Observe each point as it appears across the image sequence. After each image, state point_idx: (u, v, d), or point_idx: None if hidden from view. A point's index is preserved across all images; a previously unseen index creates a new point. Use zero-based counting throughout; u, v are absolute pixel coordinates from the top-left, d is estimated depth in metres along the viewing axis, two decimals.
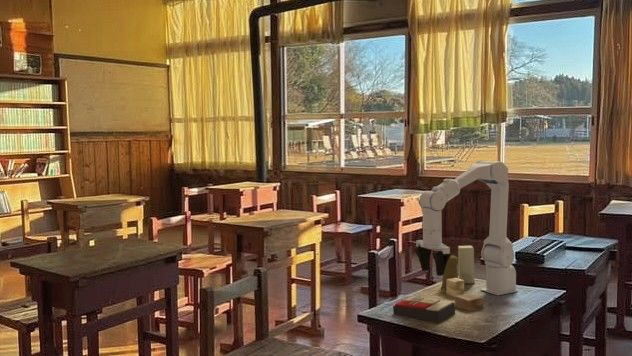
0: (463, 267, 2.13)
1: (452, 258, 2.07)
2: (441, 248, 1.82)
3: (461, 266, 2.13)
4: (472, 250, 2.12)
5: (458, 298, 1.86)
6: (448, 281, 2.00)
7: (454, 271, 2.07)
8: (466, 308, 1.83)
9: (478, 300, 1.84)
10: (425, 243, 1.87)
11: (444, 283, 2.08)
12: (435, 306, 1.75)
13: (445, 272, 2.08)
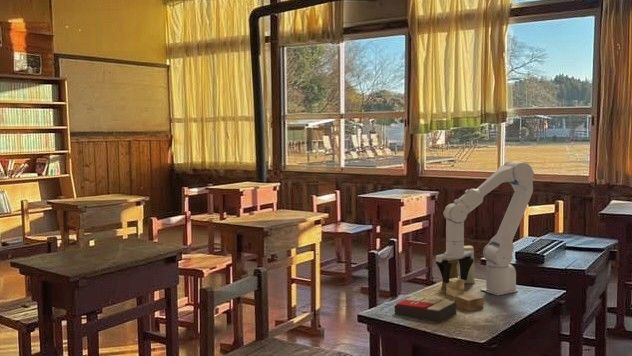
0: None
1: None
2: None
3: None
4: (472, 250, 2.12)
5: (458, 298, 1.86)
6: None
7: (454, 271, 2.07)
8: (466, 308, 1.83)
9: (478, 300, 1.84)
10: None
11: (444, 283, 2.08)
12: (436, 306, 1.76)
13: None
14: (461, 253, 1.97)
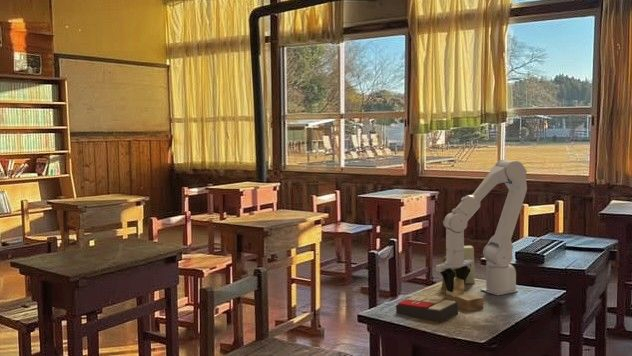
0: None
1: None
2: None
3: None
4: (472, 250, 2.12)
5: (458, 298, 1.86)
6: None
7: (454, 271, 2.07)
8: (465, 308, 1.83)
9: (478, 300, 1.83)
10: None
11: (444, 283, 2.08)
12: (437, 306, 1.76)
13: None
14: (461, 262, 1.97)
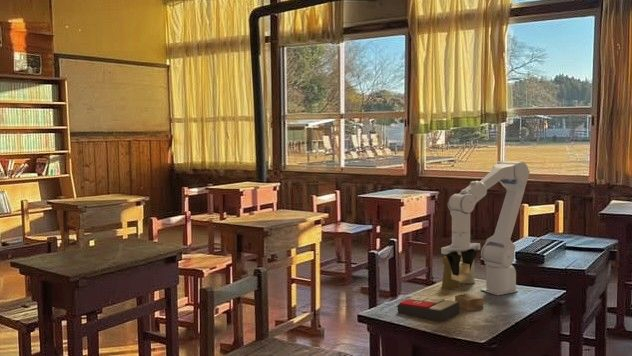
0: None
1: None
2: None
3: None
4: None
5: (458, 298, 1.86)
6: None
7: None
8: (465, 308, 1.83)
9: (478, 300, 1.83)
10: None
11: (444, 283, 2.08)
12: (439, 305, 1.76)
13: (445, 272, 2.08)
14: (467, 245, 1.90)
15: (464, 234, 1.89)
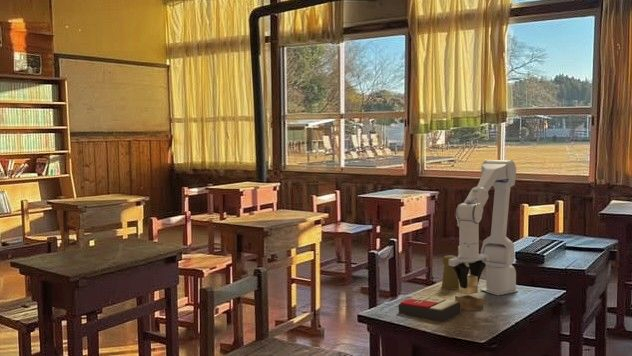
0: None
1: None
2: None
3: None
4: None
5: (458, 298, 1.86)
6: None
7: (454, 271, 2.07)
8: (465, 308, 1.83)
9: (477, 300, 1.83)
10: None
11: (444, 283, 2.08)
12: (439, 305, 1.76)
13: (445, 272, 2.08)
14: (476, 256, 1.82)
15: (472, 245, 1.82)
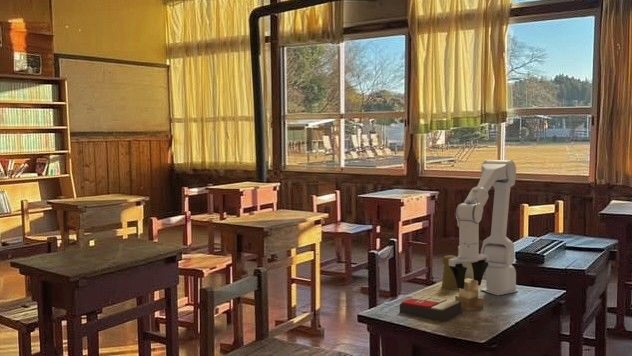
0: None
1: None
2: None
3: None
4: None
5: (458, 298, 1.86)
6: None
7: None
8: (465, 308, 1.83)
9: (477, 300, 1.83)
10: None
11: (444, 283, 2.08)
12: (440, 305, 1.76)
13: (445, 272, 2.08)
14: (476, 256, 1.82)
15: (472, 245, 1.82)
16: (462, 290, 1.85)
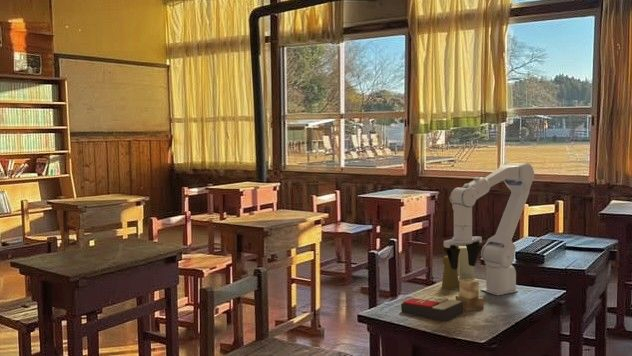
0: (463, 267, 2.13)
1: None
2: None
3: (461, 266, 2.13)
4: None
5: (458, 298, 1.86)
6: (461, 282, 1.85)
7: (454, 271, 2.07)
8: (465, 308, 1.83)
9: (478, 301, 1.83)
10: None
11: (444, 283, 2.08)
12: (442, 305, 1.76)
13: (445, 272, 2.08)
14: (469, 238, 1.91)
15: (466, 227, 1.90)
16: (462, 290, 1.85)
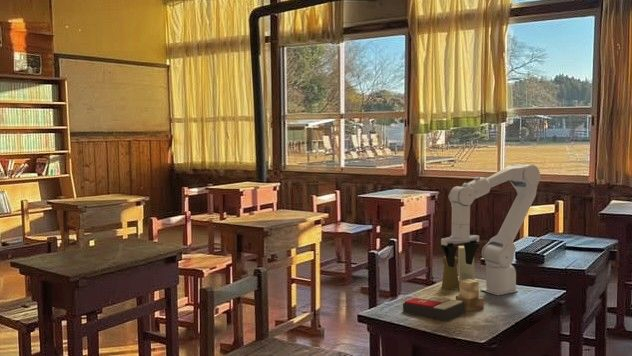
0: (463, 267, 2.13)
1: None
2: None
3: (461, 266, 2.13)
4: None
5: (458, 298, 1.86)
6: (461, 282, 1.85)
7: (454, 271, 2.07)
8: (465, 308, 1.83)
9: (478, 300, 1.83)
10: None
11: (444, 283, 2.08)
12: (443, 305, 1.77)
13: (445, 272, 2.08)
14: (467, 236, 1.94)
15: (464, 226, 1.93)
16: (462, 290, 1.85)
